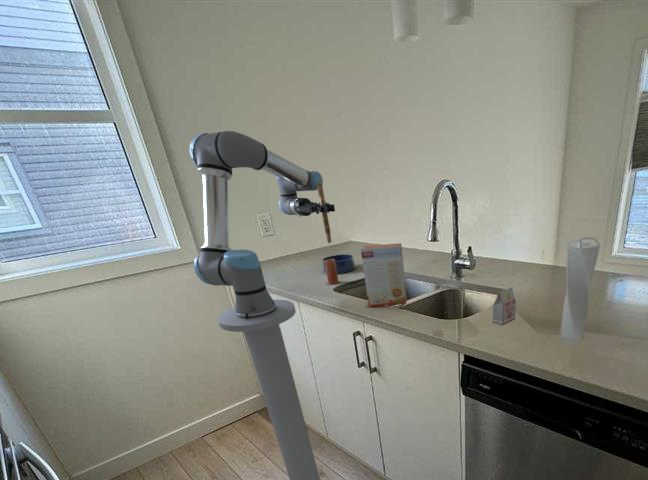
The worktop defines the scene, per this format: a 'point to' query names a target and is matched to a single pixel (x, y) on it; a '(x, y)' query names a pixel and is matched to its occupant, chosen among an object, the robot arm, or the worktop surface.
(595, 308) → the worktop surface
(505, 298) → the milk carton
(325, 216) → the stirring stick
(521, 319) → the worktop surface
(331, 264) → the orange tall cylinder
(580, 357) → the worktop surface
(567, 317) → the skyscraper
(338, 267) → the bowl
